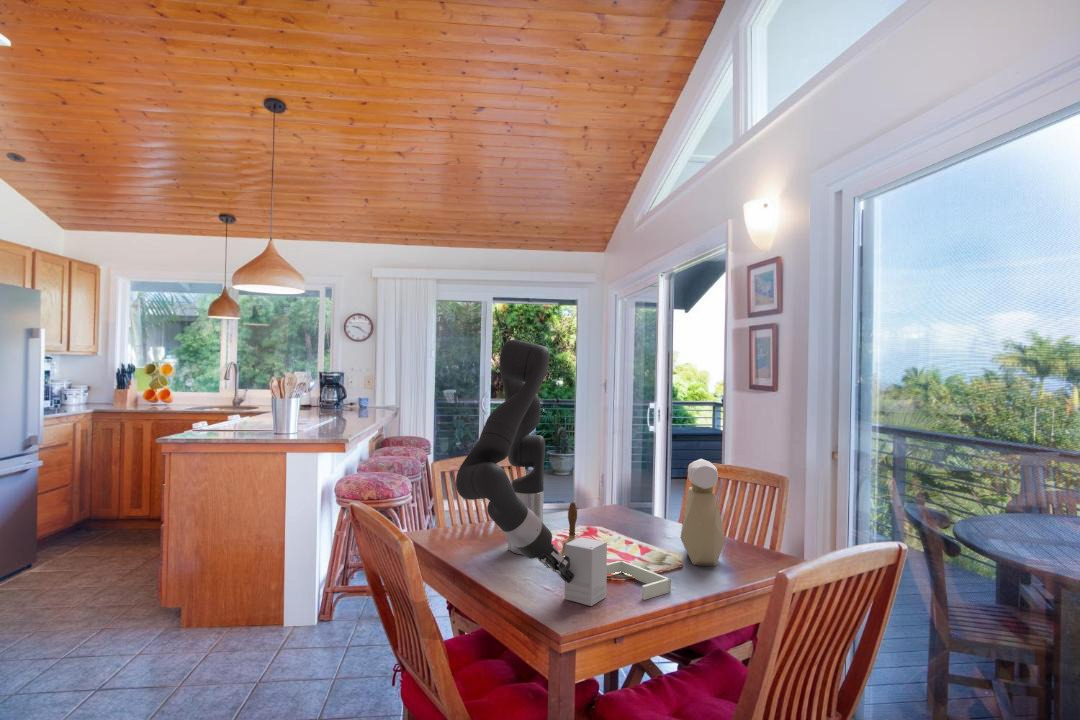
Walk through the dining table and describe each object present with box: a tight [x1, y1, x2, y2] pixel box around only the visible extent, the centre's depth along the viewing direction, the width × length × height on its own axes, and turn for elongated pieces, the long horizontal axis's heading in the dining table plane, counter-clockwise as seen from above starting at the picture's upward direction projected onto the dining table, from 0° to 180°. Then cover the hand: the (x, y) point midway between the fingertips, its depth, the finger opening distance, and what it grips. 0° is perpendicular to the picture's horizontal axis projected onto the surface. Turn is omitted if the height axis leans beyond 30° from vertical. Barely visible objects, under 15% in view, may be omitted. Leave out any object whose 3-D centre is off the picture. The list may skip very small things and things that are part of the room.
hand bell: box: [559, 501, 578, 557], centre depth 160 cm, size 8×8×16 cm
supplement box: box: [564, 536, 608, 607], centre depth 133 cm, size 7×7×13 cm
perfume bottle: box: [680, 458, 726, 567], centre depth 163 cm, size 12×24×28 cm, turn 173°
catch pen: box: [607, 560, 672, 601], centre depth 142 cm, size 9×17×3 cm, turn 36°
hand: (569, 578), depth 131 cm, fingers closed
